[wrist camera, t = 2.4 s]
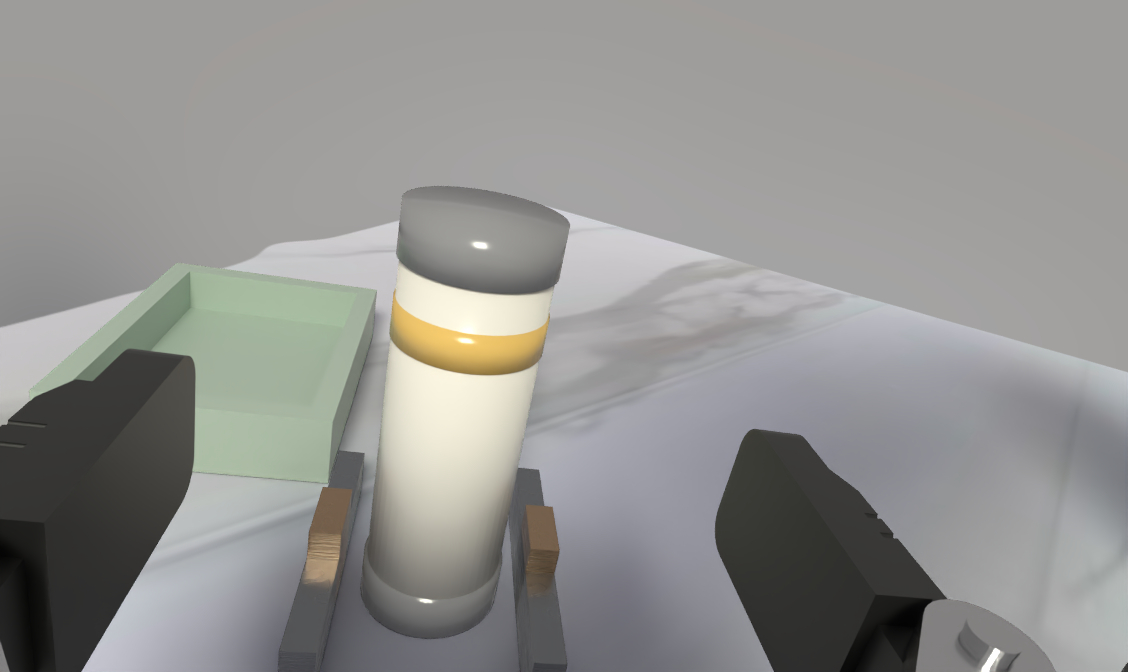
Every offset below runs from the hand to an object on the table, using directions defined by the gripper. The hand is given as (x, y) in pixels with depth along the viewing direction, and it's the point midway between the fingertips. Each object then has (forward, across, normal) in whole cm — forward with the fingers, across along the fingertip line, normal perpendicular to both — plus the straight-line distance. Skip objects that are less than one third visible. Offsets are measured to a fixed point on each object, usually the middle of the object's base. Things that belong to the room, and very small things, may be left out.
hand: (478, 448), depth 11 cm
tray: (+24, +10, +13) cm, 29 cm away
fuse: (+12, 0, +13) cm, 17 cm away
